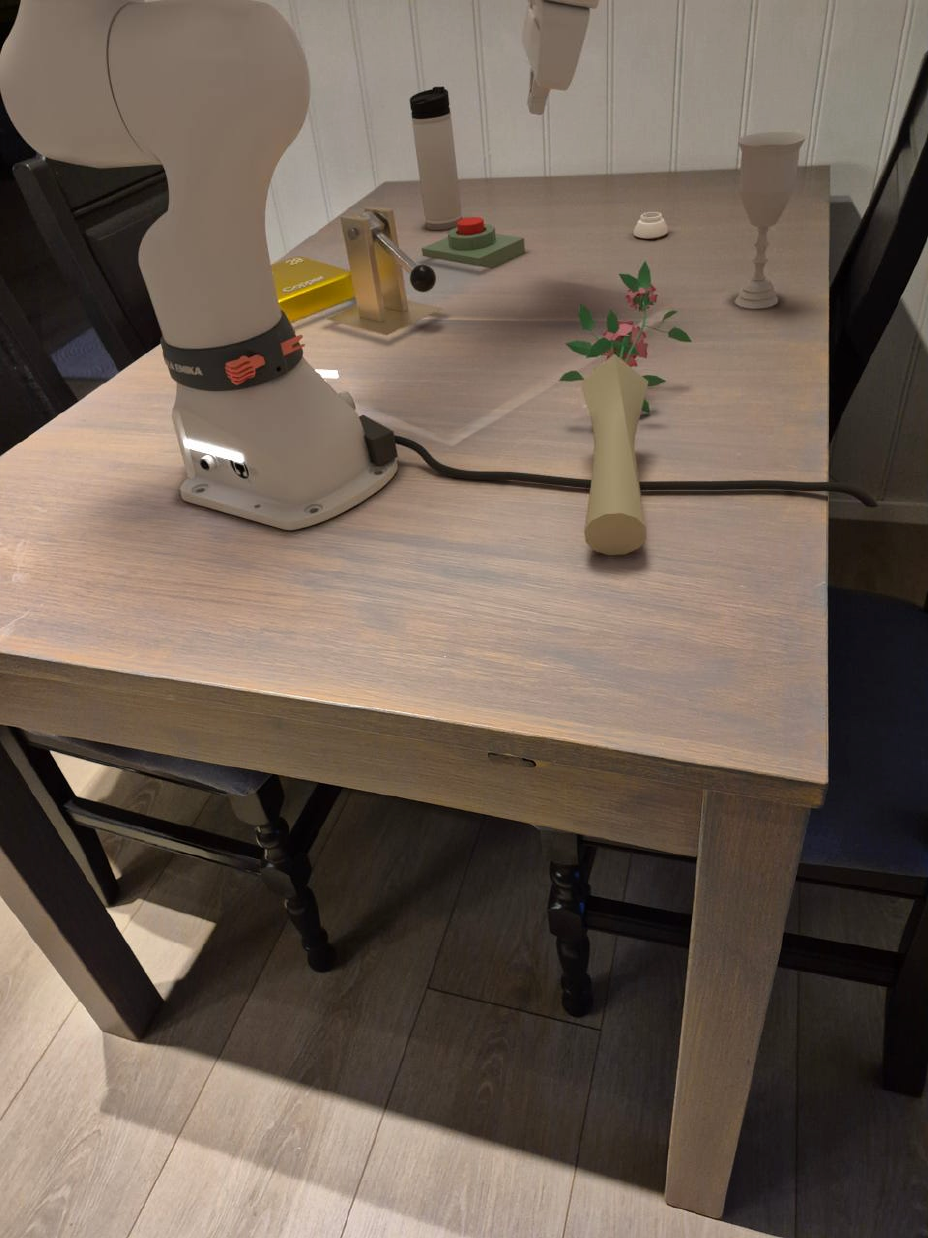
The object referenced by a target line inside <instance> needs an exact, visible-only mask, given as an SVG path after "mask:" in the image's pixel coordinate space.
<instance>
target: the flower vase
mask: <svg viewBox="0 0 928 1238" xmlns="http://www.w3.org/2000/svg"><path fill="white" fill-rule="evenodd" d="M618 275H619V277H620V279H621V281H622V283H623V284H624V285H625V286H626V287H627V288H628V289H627V290H626V292H628V294H624V297H625V298H626V299H627V304H629V303H630V305H629V308H634V309H635V310H636V311H637V310H638V312H639V313H640V312H641V313H642V312H643V319H642V323H641V326H640V325H637V326H634V320H626V321H624V320H620V319H619V320H618V316H617V314H615V312H614V311H613V310H612V309H611V308H610V309H609V312H608V314H607V316H606V328H607V329H606V330H605V332H603V333H601V335H602V336H603V337H601V338H598V337H597V336H596V335H595V333H594V332H593V331H592V330H593V328H594V326H595V324H596V322H595V320H594V318H593V316H592V314H591V312H590V311H589V309H588V308H587V307H586V306H584V305H583V304H582V303H579V308H578V318H579V319H578V320H579V324H580V326H581V328H582V330H583V331H590V332H591V334H592V335H593V336H594V338H596V339H597V341H595V342H594V343H593V344H592V343H591V342H589V341H585V340H573V341H567V342H565V344H564V345H566V346H567V347H568V349H570V350H571V351H572V352H574V353H576V354H578V355H581V356H585V359H591V358H598V357H600V356H601V357H603V356H605V357H606V359H605V361H604V362H603V363H602V364H600V365H599V366H597V368H596V369H594V371H593V372H591V373H590V374H589V375H588V376H586V377H585V378H584V377H583V375H582V374H581V373H580V372H579V371H578V370H570V371H568V372H565V373H564V374H563V375H562V376H561V377H560V378H559V380H558V382H569V383H571V382H577V381H578V382H579V381H581V382H580V383H579V386H580V390H581V392H582V395H583V398H584V400H585V401H584V402H585V403H586V406H587V409H588V411H589V416H590V422H591V426H592V430H593V431H592V432H593V461H592V462H593V463H592V473H591V479H590V480H591V488H589V496H588V503H587V510H586V517H585V522H584V523H585V524H584V531H583V533H584V540H585V543H586V544H587V545H588V546H589V547H590V548H591V549H592V550H593V551H594V552H597V553H599V554H600V553H601V554H603V555H607V556H623V555H627V554H629V553H632V552H634V551H636V550H638V549H640V547H642V545H643V544H644V542H645V541H646V540H647V525H646V521H645V515H644V509H643V502H642V493H641V490H640V485H639V481H640V477H639V471H638V464H637V454H636V449H635V445H636V433H637V430H638V425H639V421H640V417H641V413H642V412H645V413H647V414H650V413H651V410H650V404H649V402H648V401H647V400H646V398H645V397H646V394H647V393H646V392H647V389H648V387H654V386H655V387H656V386H659V385H661V384H664V383H666V382H667V380H665V379H663V378H661V377H660V376H658V375H654V374H644V375H641V374H640V373H639V372H638V371H636V370H635V369H634V368H635V367H638V366H639V365H638V362H637V360H636V359H637V357H639V358H644V359H647V358H648V356H649V355H648V347H649V343H647V342H644V340H645V339H647V337H648V334H647V332H646V331H645V330H644V327H647V328H650V329H653V330H656V331H659V332H661V333H666V334H668V335H667V337H668V338H670V339H674V340H675V341H679V342H683V343H693V341H692V340H691V338H690V336H689V335H688V333H687V332H685V331H684V330H683V329H681V328H680V327H676V326H674V327H672V328H671V329H669V331H664V330H660V329H659V328H661V327H662V326H663V325H664V321H665V320H667V319H668V318H670V317H672V316H674V315H676V314H677V313H678V311H677V310H674V309H673V310H670V311H667V312H666V313H664V316H663V318H662V320H661V325H660V326H657V327H652V326H649V325H646V320H647V310H650V306H654V305H655V304H657V300H658V297H659V294H658V293H655V292H657V291H658V289H657V288H656V287H655V285H653V283H652V277H651V270H650V268H649V266H648V263H647V261H646V260H644V261H643V263H642V265H641V266H640V269H639V270H638V274H637V277H635V276H634V275H631V274H630V273H618ZM633 367H634V368H633Z"/></svg>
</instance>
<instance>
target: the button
mask: <svg viewBox="0 0 928 1238" xmlns="http://www.w3.org/2000/svg"><path fill="white" fill-rule="evenodd" d="M484 224H485V220H484V218H483V217H480V216H470V217H465V218H462V219H461V220H459V221H458V222H457V228H458V235H464V236H465V235H475V234H479V233H482V232H484V231H485V229H484Z"/></svg>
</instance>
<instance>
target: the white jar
mask: <svg viewBox="0 0 928 1238" xmlns="http://www.w3.org/2000/svg"><path fill="white" fill-rule="evenodd" d="M662 215H663V214H662V213H661V212H659V211H648V212H643V213H641V214H640V219H638V220H637V223H636V225H635V227H634V229H633V235H634V236H635V237H636V238H639V239H643V240H653V239H658V238H662V237H663V236H665V235H666V234H668V233H669V228H668V225H667V223H666V220H665V219H664V217H662Z"/></svg>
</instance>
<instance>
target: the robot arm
mask: <svg viewBox="0 0 928 1238" xmlns="http://www.w3.org/2000/svg"><path fill="white" fill-rule="evenodd" d="M599 3H600V0H527V5H526V11H525V17H524V21H523V27H522V34H521V35H522V36H521V42H522V43H521V44H522V46H523V49H524V51H525V55H526V56H527V57H526V58H527V60H528V62H529V65H530V68H529V85H528V94H527V100H526V105H527V107H528V111H529V113H530V114H532V115H538V116H541V115H543V114H544V113H545V109H546V104H547V99H548V97H549V95H550V91H551V90H557V91H567V90H569V87H570V86H571V84H572V82H573V79H574V77H575V74H576V71H577V67H578V63H579V59H580V57H581V53H582V49H583V46H584V42H585V39H586V34H587V30H588V26H589V22H590V17H591V9H593V10H595V9H597V8H598V6H599ZM0 95H1V99H2V102H3V105H4V107H5V111H6V114H8V117H9V119H10V121H11V122H12V125H13V126H14V128H15V129H16V131H17V132H18V133H19V135H20V136H21V137H22V139H23V140H24V141H25V142H26V143H27V145H29V146H30V147H31V149H32V150H34V151H35V152H36V153H38V154H39V155H41V156H43V157H45V158H47V159H50V160H54V161H59V162H64V163H67V164H72V165H77V166H82V167H90V168H95V169H117V168H129V167H145V166H160V165H161V166H162V167H163V169H164V171H165V175H166V180H167V186H168V208H167V211H166V212H164V213H163V214H162V215H160V217H158V218H157V219H156V220H155V221H154V223H152V224H151V225H150V226H149V228H148V229H147V230H146V232H145V234H144V236H143V237H142V240H141V242H140V245H139V249H138V266H139V268H140V272H141V275H142V277H143V278H142V279H143V281H144V284H145V286H146V287H145V288H146V290H147V292H148V296H149V299H150V301H151V305H152V307H153V310H154V313H155V316H156V320H157V323H158V326H159V328H160V331H161V337H160V340H159V341H160V346H161V350H162V357H163V360H164V364H165V365H166V366H167V369H168V371H169V375H170V377H171V379H172V380H173V381H174V382H175V383H176V388H175V389H176V390H175V391H176V394H175V399H174V404H173V407H172V412H171V419H172V420H171V421H172V423H173V427H174V431H175V435H176V440H177V442H178V446H179V451H180V455H181V458H182V462H183V465H184V468H185V472H186V476H187V477H186V478H185V480H184V481H183V482H182V484H181V486H180V488H179V490H180V495H181V499H182V500H183V501H184V502H187V503H190V504H194V505H197V506H200V507H204V508H209V509H212V510H214V511H218V512H222V513H225V514H228V515H233V516H235V517H239V518H243V519H246V520H250V521H252V522H253V521H254V522H256V523H259V524H263V525H267V526H269V527H270V526H271V527H274V528H278V529H281V530H286V531H296V530H300V529H304V528H308V527H311V526H314V525H317V524H319V523H323V522H325V521H327V520H330V519H332V518H335V517H337V516H339V515H341V514H343V513H344V512H346V511H348V510H350V509H352V508H354V507H355V506H357V505H359V504H360V503H362V502H364V501H365V500H367V499H368V498H370V497H372V496H373V495H374V494H375V493H377V492H378V491H380V490H381V489H382V488H383V487H385V486H386V485H387V484H388V483H389V482H390V481H391V480H392V478H393V477H394V476H395V474H396V473H397V471H398V469H399V465H398V463H397V458H398V457H399V454H398V449H397V445H399V446H402V447H405V448H407V449H410V450H411V451H414V452H415V453H417V454H418V456H420V457H421V458H422V459H423V461H424V462H425V463H426V464H427V465H428V466H429V467H430V468H431V469H432V470H434V471H436V472H438V473H441V474H443V475H446V476H450V477H454V478H457V479H463V480H475V481H476V480H477V481H513V482H524V483H533V484H540V485H541V484H542V485H550V486H558V487H559V486H561V487H569V488H581V489H590V488H591V480H592V479H587V478H577V477H576V478H575V477H563V476H554V475H545V474H536V473H528V472H517V471H500V470H499V471H494V470H493V471H489V470H488V471H487V470H486V471H484V470H481V471H480V470H479V471H478V470H466V469H459V468H456V467H452V466H448V465H446V464H442V463H441V462H439V461H438V460H437V459H435V457H433V455H431V453H430V452H429V451H428V450H427V449H426V448H425V447H424V446H423V445H422V444H420V443H419V442H416V441H414V440H413V439H410V438H407V437H404V436H401V435H397V434H395V433H394V432H395V431H394V430H392V429H390V428H388V427H387V426H385V425H383V424H381V423H379V422H377V421H376V420H374V419H373V418H371V417H369V416H367V415H365V414H361V415H358V413H357V411H356V409H357V408H356V403H355V400H354V398H353V396H352V395H351V393H350V392H349V391H347V390H346V391H345V390H344V391H341V392H339V393H338V392H337V391H336V390H335V388H333V386H332V385H331V384H329V382H328V381H327V380H326V379H338V378H339V374H338V373H339V372H338V370H333V369H332V370H329V369H315V368H314V367H313V366H312V365H311V364H310V363H309V362H308V360H307V359H305V357H304V349H303V348H304V347H306V344H305V343H302V344H301V342H300V341H301V340H302V339H303V338H304V335H302V334H299V335H297V332H296V330H295V328H294V326H293V324H291V323H290V322H289V320H288V318H287V316H286V314H285V312H284V311H282V310H281V309H280V305H279V301H278V297H277V292H276V287H275V283H274V278H273V273H272V268H271V265H272V263H271V257H270V254H269V248H268V241H267V233H266V207H267V200H268V195H269V189H270V185H271V182H272V178H273V176H274V173H275V170H276V168H277V166H278V164H279V162H280V160H281V158H282V157H283V155H284V153H285V152H286V151H287V150H288V148H289V147H290V146H291V145H292V144H293V142H294V141H295V140H296V139H297V138H298V136H299V134H300V132H301V130H302V128H303V126H304V124H305V121H306V118H307V115H308V112H309V111H308V110H309V107H310V99H311V77H310V71H309V65H308V61H307V58H306V55H305V52H304V49H303V46H302V44H301V41H300V39H299V38H298V36H297V34H296V32H295V30H294V29H293V28H292V26H291V25H290V24H289V22H288V20H287V19H286V18H285V17H284V16H283V15H282V13H281V12H279V11H278V9H276V8H275V7H274V6H273V5H271V4H270V3H267V2H265V1H259V0H153V1H145V0H20V4H19V7H18V12H17V15H16V18H15V22H14V24H13V26H12V28H11V30H10V32H9V35H8V36H7V38H5V41H4V43H3V45H2V48H1V50H0ZM639 485H640V491H740V490H743V491H744V490H775V491H776V490H778V491H794V492H835V493H842V494H846V495H849V496H852V497H853V498H856V499H857V500H858V501H860V502H861V503H862V504H863V505H864V506H865V507H868V508H878V506H879V504H878V503H877V501H875V499H874V498H873V497H872V496H871V495H870V494H869V493H867V492H866V491H865V490H863V489H861V488H860V487H858V486H856V485H853V484H850V483H846V482H839V481H795V480H780V479H779V480H778V479H776V480H775V479H767V480H766V479H746V480H670V481H669V480H656V481H655V480H653V481H651V480H650V481H647V480H645V481H640V480H639Z"/></svg>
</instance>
